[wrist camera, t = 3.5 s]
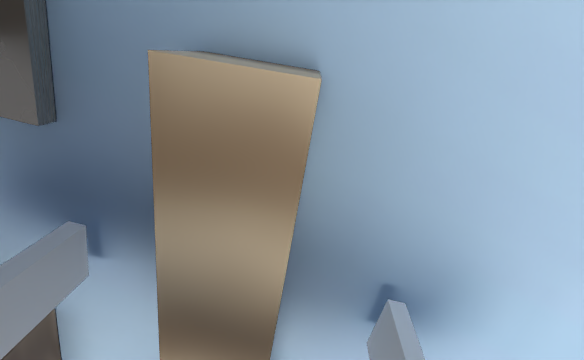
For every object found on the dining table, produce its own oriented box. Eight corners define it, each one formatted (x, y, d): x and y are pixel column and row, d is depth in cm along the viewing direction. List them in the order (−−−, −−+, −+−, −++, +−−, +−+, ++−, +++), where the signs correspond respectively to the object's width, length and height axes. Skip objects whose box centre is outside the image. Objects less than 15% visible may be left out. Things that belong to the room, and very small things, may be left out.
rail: (206, 51, 10) (147, 49, 7) (319, 70, 10) (321, 79, 7) (195, 378, 18) (163, 464, 14) (261, 389, 17) (247, 478, 14)
